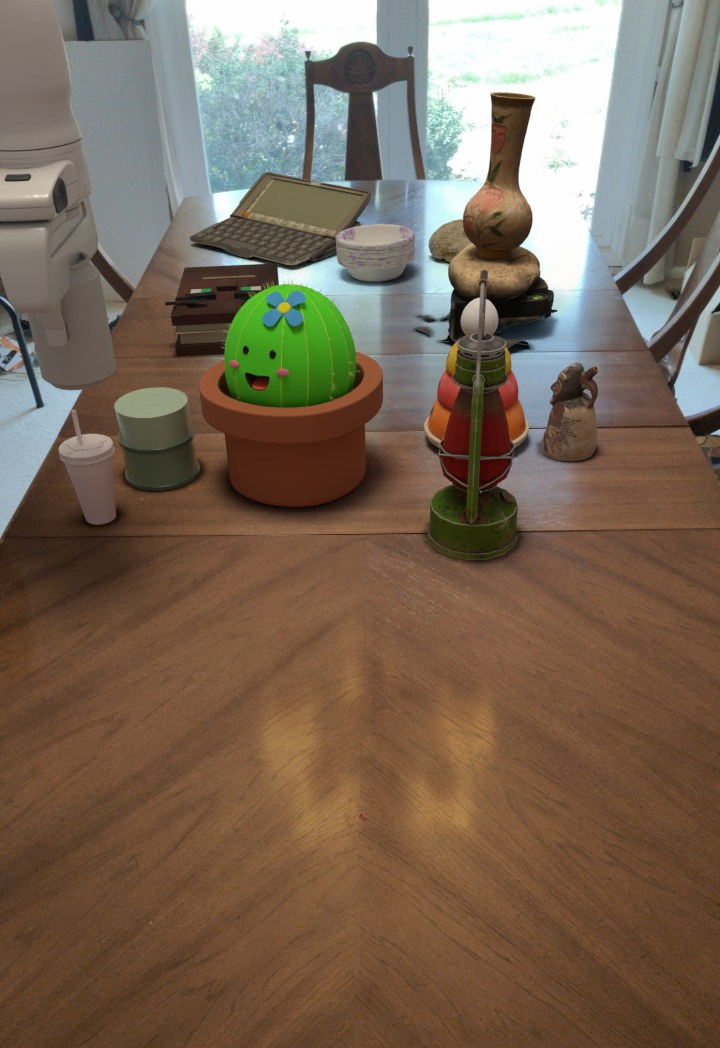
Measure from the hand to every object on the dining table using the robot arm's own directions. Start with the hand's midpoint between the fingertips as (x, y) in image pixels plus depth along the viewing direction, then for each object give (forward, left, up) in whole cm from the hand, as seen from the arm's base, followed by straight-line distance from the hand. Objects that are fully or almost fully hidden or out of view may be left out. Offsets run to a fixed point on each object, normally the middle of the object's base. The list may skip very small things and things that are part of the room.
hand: (70, 327), depth 97 cm
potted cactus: (+20, +19, -27) cm, 39 cm away
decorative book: (+6, +75, -27) cm, 80 cm away
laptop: (+12, +125, -27) cm, 128 cm away
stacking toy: (+44, +28, -27) cm, 59 cm away
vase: (+51, +71, -27) cm, 91 cm away
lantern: (+41, +3, -27) cm, 49 cm away
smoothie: (-4, +10, -27) cm, 29 cm away
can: (0, 0, -6) cm, 6 cm away
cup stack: (+2, +21, -27) cm, 34 cm away
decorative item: (+49, +110, -27) cm, 123 cm away
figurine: (+56, +24, -27) cm, 67 cm away
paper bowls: (+32, +101, -27) cm, 109 cm away
